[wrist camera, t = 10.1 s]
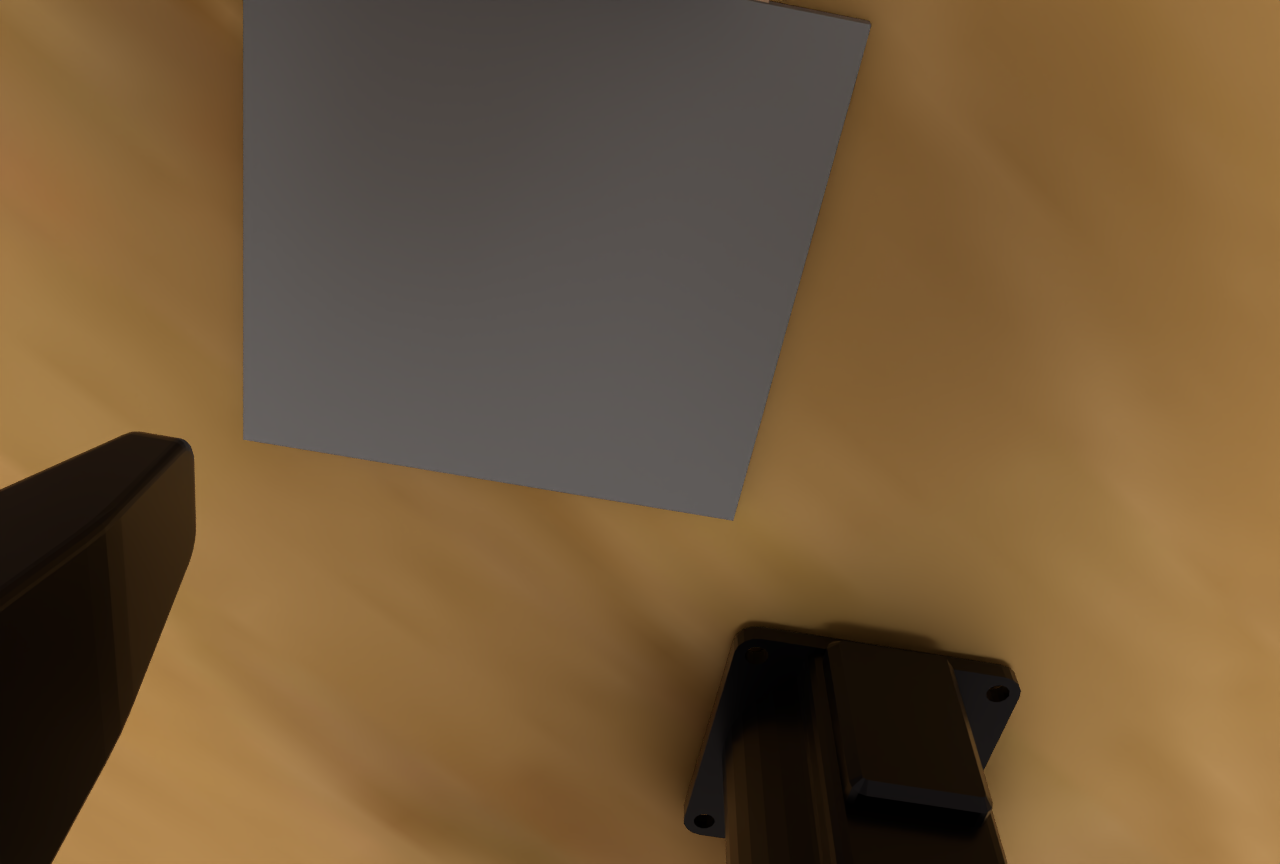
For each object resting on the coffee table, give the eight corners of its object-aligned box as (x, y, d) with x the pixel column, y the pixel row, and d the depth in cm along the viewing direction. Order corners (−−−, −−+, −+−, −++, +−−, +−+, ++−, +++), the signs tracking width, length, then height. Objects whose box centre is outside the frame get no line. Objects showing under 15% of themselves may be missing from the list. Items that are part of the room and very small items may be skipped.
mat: (732, 512, 24) (733, 520, 24) (248, 431, 23) (243, 439, 23) (868, 20, 19) (871, 24, 18) (249, -103, 18) (243, -101, 18)
